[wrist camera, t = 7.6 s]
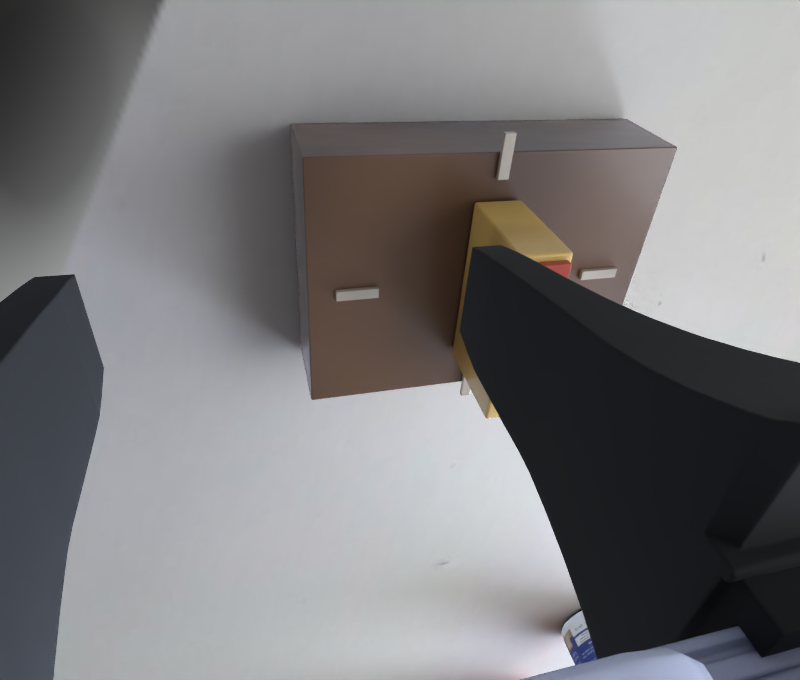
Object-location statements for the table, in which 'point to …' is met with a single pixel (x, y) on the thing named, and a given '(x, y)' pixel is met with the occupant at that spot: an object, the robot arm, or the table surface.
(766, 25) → the table surface
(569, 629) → the pill bottle
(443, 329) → the lock plate
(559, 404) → the robot arm
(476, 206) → the handle
